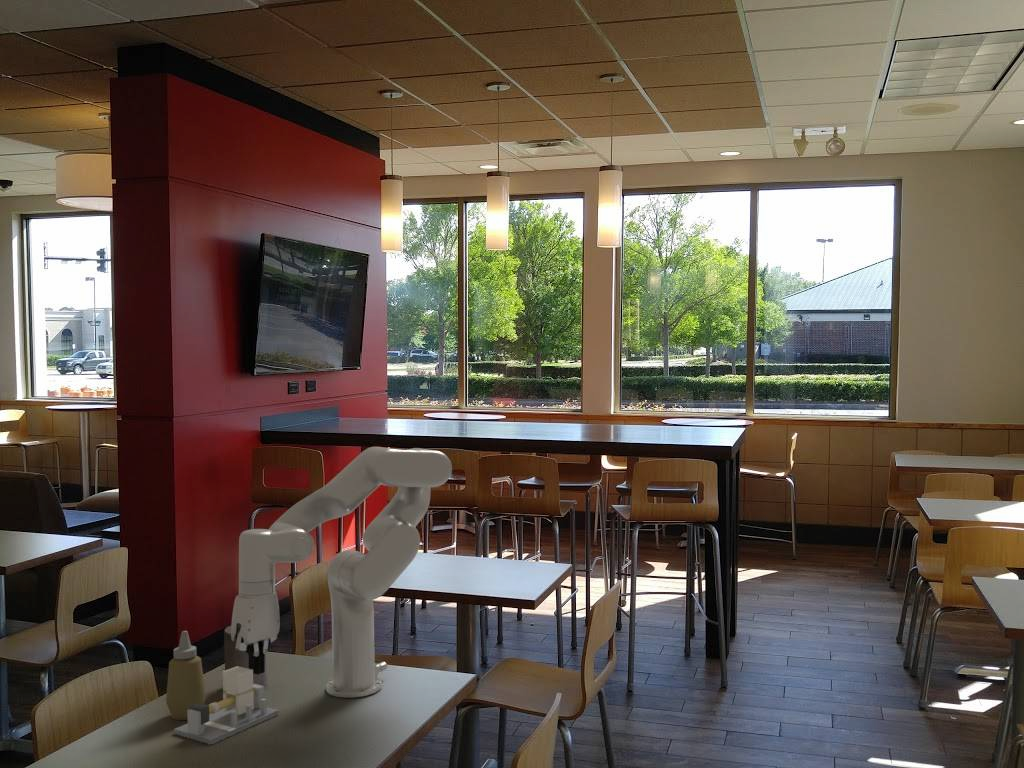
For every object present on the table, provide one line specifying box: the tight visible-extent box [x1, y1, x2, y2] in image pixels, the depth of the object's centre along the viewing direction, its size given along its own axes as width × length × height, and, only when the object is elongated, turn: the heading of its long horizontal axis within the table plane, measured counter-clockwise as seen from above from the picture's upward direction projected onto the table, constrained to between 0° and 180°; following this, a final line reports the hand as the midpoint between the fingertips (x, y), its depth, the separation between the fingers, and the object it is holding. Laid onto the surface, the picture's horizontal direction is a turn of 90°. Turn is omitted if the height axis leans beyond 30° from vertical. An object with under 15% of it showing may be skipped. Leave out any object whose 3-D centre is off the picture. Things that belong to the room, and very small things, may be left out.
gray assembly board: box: [173, 684, 280, 746], centre depth 192 cm, size 18×11×6 cm, turn 148°
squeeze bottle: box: [165, 630, 207, 721], centre depth 197 cm, size 8×8×18 cm
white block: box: [222, 666, 254, 715], centre depth 195 cm, size 4×5×8 cm
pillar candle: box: [223, 624, 269, 688], centre depth 215 cm, size 10×10×15 cm
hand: (256, 672), depth 199 cm, fingers closed
